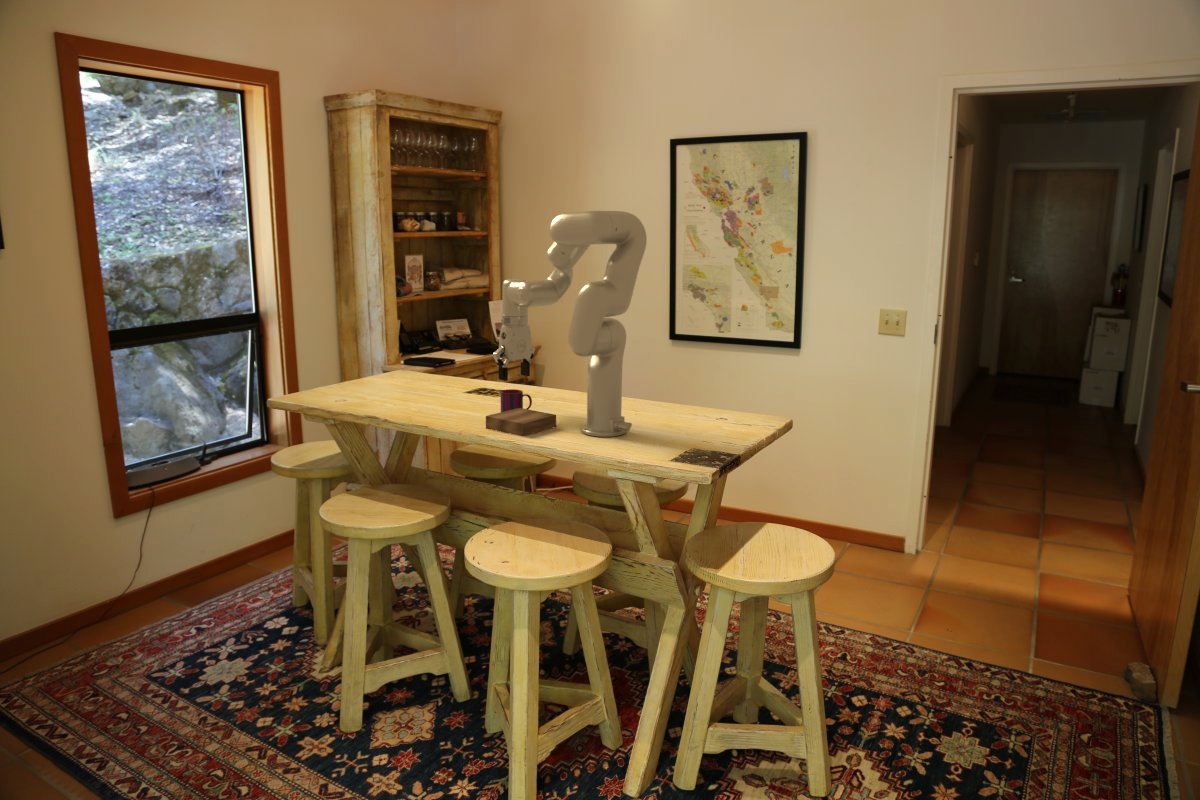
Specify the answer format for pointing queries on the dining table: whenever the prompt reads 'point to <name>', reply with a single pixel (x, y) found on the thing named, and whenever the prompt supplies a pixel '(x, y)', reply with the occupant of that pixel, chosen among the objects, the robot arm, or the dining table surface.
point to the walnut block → (521, 421)
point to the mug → (513, 399)
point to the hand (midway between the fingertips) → (514, 377)
